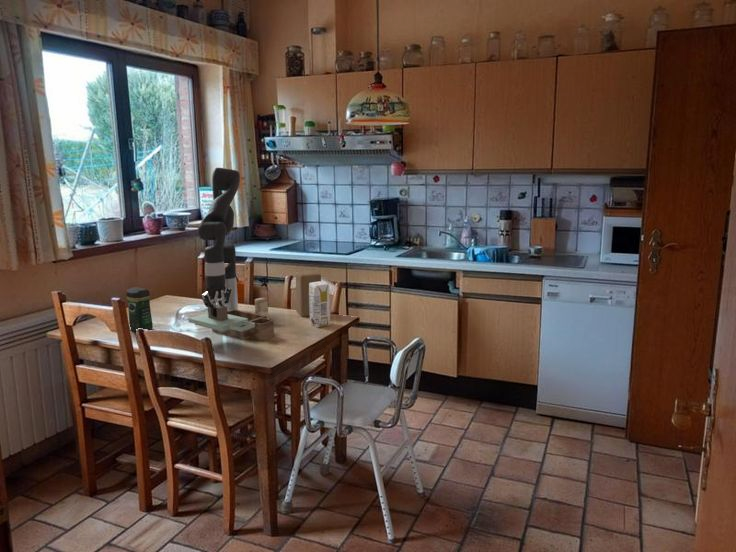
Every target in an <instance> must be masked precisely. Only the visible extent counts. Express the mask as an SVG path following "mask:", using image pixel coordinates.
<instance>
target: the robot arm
mask: <svg viewBox="0 0 736 552" xmlns="http://www.w3.org/2000/svg"><path fill="white" fill-rule="evenodd" d="M240 181H241V174H240V172H239V171H238V170H236V169H232V168H231V169H230V168H224V167H215V168H214V169H213V172H212V176H211V184H212V188H211V189H212V198H213V199H212V201H211V203H210V205H209V209H208V212H207V214H206V215H205V216H204V217H203V219H202V220H201V221H200V223H199V224H198V227H197V235H198V237H199V238H200V239H201V240H202V241H212V242H211V245H210V246H206V247H205V248H204V249H203V250H204V276H205V285H206V291H205V292H204V293H201V294H200V297H201V299H202V301H203V304H204V305H205V307H206V308H208V307H209V308H210V309H211V316H212V317H217V313H216V305H221V306H225V307H227V311H230V310H233V309H236V310H239V303H238V302H239V301H238V284H237V270H236V269H237V268H236V258H237V257H236V253H237V252H236V247H235V244H233V243H225V240H226V237H227V236H228V234H230V232H231V231H232V229H233V228H234V223H235V222H234V221H235V212H234V210H233V208H232V206H231V203H232V202H233V200H234V198H235V197H236V193H237V192H238V190H239V186H240ZM223 191H224V192H223ZM225 264H227V265H226V266H225Z"/></svg>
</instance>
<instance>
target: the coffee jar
mask: <svg viewBox="0 0 736 552" xmlns="http://www.w3.org/2000/svg"><path fill="white" fill-rule="evenodd" d="M126 300H127V306H128V325H129V324H130V327H131V330H130V331H133V332H136V331H135V330H136V329H138V328H143V329H150V330H152V329H153V327H154V325H153V320H152V319H153V318H152V312H151V311H152V310H151V304H150V302H151V301H150V300H151V294H150V290H149V289H148V288H143V287H137V286H134V287H130V288H128V289H127V290H126Z"/></svg>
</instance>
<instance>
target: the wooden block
mask: <svg viewBox="0 0 736 552" xmlns="http://www.w3.org/2000/svg"><path fill="white" fill-rule="evenodd" d="M319 281H322V274H321V273H319V272H318V271H317V270H305V271H302V270H301V271H296V272H295V290H296V291H295V292H296V293H295V296H296V297H295V300H296V313H297V314H298V315H300V316H301V317H302V318H306V317H305V316H308V317H310V310H309V283H312V282H319Z"/></svg>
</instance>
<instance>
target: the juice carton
mask: <svg viewBox="0 0 736 552" xmlns="http://www.w3.org/2000/svg"><path fill="white" fill-rule="evenodd" d="M330 297H331V296H330V284H329V283H326V282H324V281H322V280H321V281H319V282H312V283H309V310H310V316H309V323H310V325H311V324H312V325H311V326H313V325H314V327H315V328H317V329H319V328H318V327H320V328H324V327H323V326H325V327H329V325H330V324H331V300H330V299H331V298H330Z"/></svg>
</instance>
